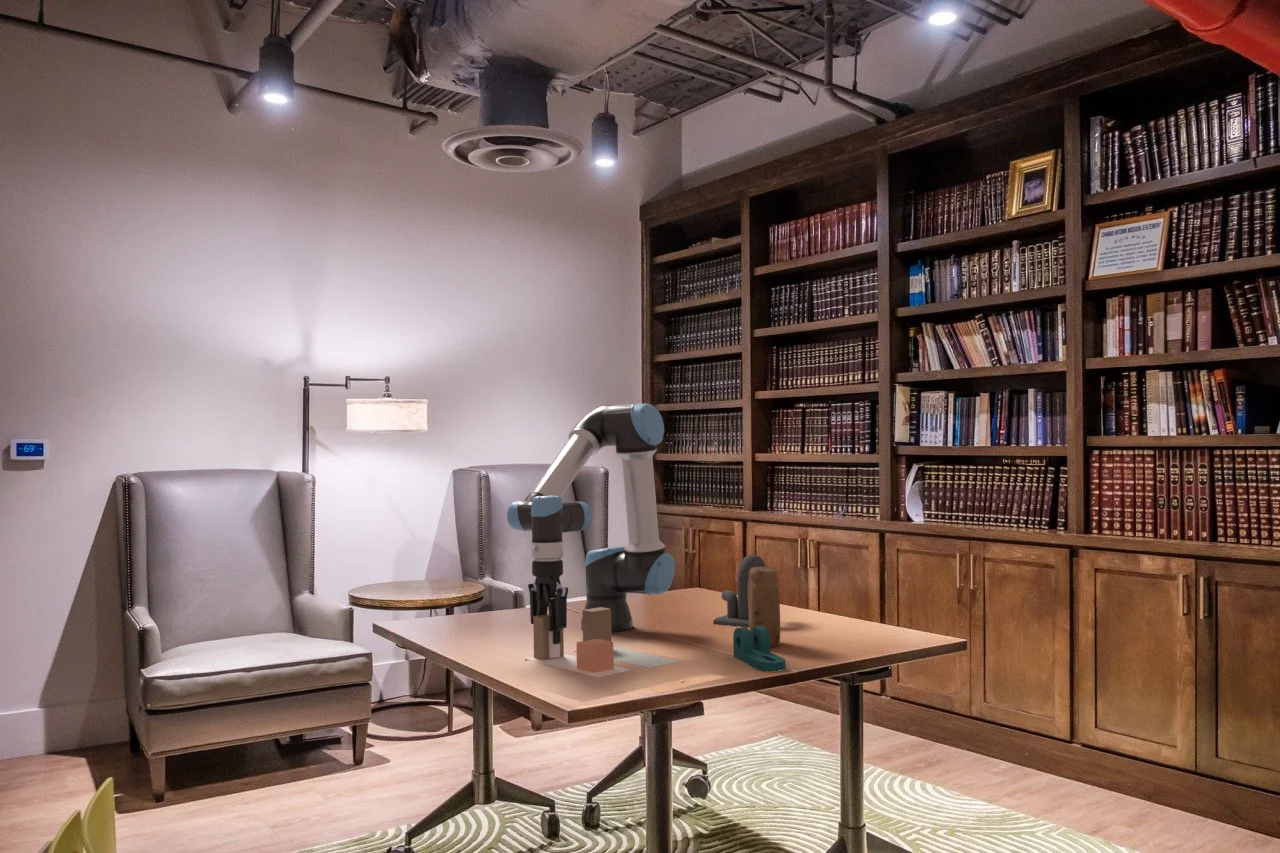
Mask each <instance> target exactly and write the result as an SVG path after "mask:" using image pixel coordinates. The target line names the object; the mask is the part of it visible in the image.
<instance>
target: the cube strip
mask: <svg viewBox="0 0 1280 853" xmlns="http://www.w3.org/2000/svg"><path fill="white" fill-rule="evenodd" d="M532 625H533V656H531V657H525V658H524V662H527V661H533V662H536V663H541V664H543V665H548V666H551V667H556V668H560V669H564V670H568V671H572V672H575V673H579V674H583V675H587V676H591V677H594V678H601V677H606V676H610V675H615V674H620V673H624V672H628V671H632V669H630V668H626V667H622V666H618V665H614V669H609V670H604V671H599V672H594V673H592V672H588V671H584V670H580V669H577V655H571V654H567V653H565V652H564V650H565V646H564V644H565V643H564V642H565V641H564V628H563V629H561V632H560V633H561V637H560V638H561V642H560V657H557V658H549V629H551V625H550V617H549V613H547V614H545V615H538V616H533V624H532Z"/></svg>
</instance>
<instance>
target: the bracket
mask: <svg viewBox="0 0 1280 853" xmlns="http://www.w3.org/2000/svg"><path fill="white" fill-rule="evenodd" d="M732 642H733V643H732V644H733V647H732V648H733V658H734V659H737V660H738V661H740V662H742V663H744V664H746V665H748V666H750V667H752V668H754V669H755V668H756V669H755V670H757V671H760V672H766V671H778V670H783V669H785V668H786V667H787V665H786V658H784V657H782V656H781V655H778V654H776V653H773V652H771V647H770V638H769V633H768V631H767V629H766V627H764V626H756V627H753V628H752V629H751V632H750V628H747V627H736V628H735V629H734V632H733V641H732ZM786 669H787V668H786ZM786 669H785V670H786ZM783 671H784V670H783ZM778 672H779V671H778Z"/></svg>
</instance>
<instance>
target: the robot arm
mask: <svg viewBox="0 0 1280 853" xmlns="http://www.w3.org/2000/svg"><path fill="white" fill-rule="evenodd" d="M663 420H664V419H663V417H662V414H661V413H660V411H659V410H658V409H657V408H656V406H655V405H653V404H649V403H638V402H637V403H636V402H635V403H626V404H625V403H623V404H606V405H602V406H598V407H597V408H594V409H593V410H592V411H590V412H588V413H587V414H586V415H585V416H584V417H582V419H580V420H579V421H578V422H577V423H576V424H575V426H574V427H573V428H572V429H571V431H570V432H569V433H568V437H567V438H568V440H567V441H566V443H565V444H564V446H563V447H562V449H561V450H560V452H559V453H558V454H557V456H556V457H555V458H554V460H553V461H552V462H551V464H549V466H548V467H547V469H546V471H545V472H544V473H543V474H542V476H541V477H540V478H539V480H538V481H537V482H536V483H535V485H534V487H533V488H532V489H531V491H530V492H529V493H528V495H527V496H526V497H525V499H524V500H518V501H513V502H512V503H511V504H510V505H509V506H508V508H507V511H506V512H507V513H506V519H507V523H508V525H509V526H510V527H511V528H512V529H514V530H517V531H523V532H527V531H529V532H530V531H531V543H532V544H531V557H532V559H533V560H532V561H531V573H532V576H533V577H535V579H534V580H535V581H534V582H533V583H528V585H527V589H528V592H529V608H530V609H529V612H530V613H529V614H530V623H531V625H533V616H538V615H545V614H549V617H550V625H551V629H549V658H557V657H560V642H561V638H560V637H561V633H560V632H561V629H563V630H564V629H566V628H567V626H568V625H567V622H568V621H567V618H568V617H567V613H568V612H567V610H568V609H567V606H568V605H567V604H568V601H567V600H568V599H567V598H568V593H569V588H568V587H564V586H562V583H561V580H560V577H561V576H562V575H563V574H564V561H563V560H562V558H563V557H564V546H563V544H564V542H563V541H564V540H563V533H572V532H578V533H579V532H580V531H584V530H586V529H589V527H590V525H591V524H592V522H593V511H592V508H591V507H590V505H589V504H587V503H586V502H584V501H579V500H576V501H575V500H574V501H563V498H562V497H563V495H565V493H566V492H567V490H568V489H569V487H570V486H571V485H572V483H573V481H574V480H575V479H576V477H577V476H578V475H579V473H580V472H581V470H582V469H583V467H584V466H585V464H586V463H587V462H588V460H589V459H590V457H592V456H595V455H596V454H598V453H599V451H600V450H601V449H602V448H605V447H608V446H610V447H611V446H614V447H615V452H616V454H617V456H619V458H621V461H622V462H621V463H622V471H623V472H622V474H623V475H622V476H623V483H624V484H623V486H624V497H625V499H624V500H625V510H626V523H627V536H628V543H627V544H626V545H625V546H623V545H621V546H613V547H605V548H604V547H603V548H599V549H598V548H597V549H592V550H589V551H588V552H587V554H586V555H585V556H586V557H585V565H584V566H585V583H586V584H585V586H586V588H585V591H586V592H585V593H586V597H585V598H586V602H585V606H584V609H583V610H586V609H592V608H599V607H603V608H609V609H611V633H613V632H619V631H620V632H621V631H627V630H630V629H632V628H633V627H634V626H633V625H634V619H633V616H632V614H631V610H630V607H629V604H628V600H627V594H628V593H629V594H639V595H641V594H642V595H648V596H651V595H662V594H664V593H666V592H667V591H668V589H670V587H671V585H672V583H673V580H674V578H675V577H674V576H675V572H676V565H675V559H674V557H673V556H672V554H670V553H667V552H666V545H665V544H664V543H663V542H662V541H661V540H660V535H659V534H660V533H659V522H658V511H657V509H658V508H657V498H656V496H657V495H656V484H655V473H654V472H655V470H654V460H653V457H654V454H655V453H656V452H657V451H658V445H659V444H660V443H662V441H663V439H664V434H665V426H664V421H663ZM580 628H581V630H583V616H582V617H581V619H580Z"/></svg>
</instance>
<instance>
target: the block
mask: <svg viewBox="0 0 1280 853" xmlns="http://www.w3.org/2000/svg"><path fill="white" fill-rule="evenodd" d="M778 573H779V572H778V570H777V569H776V568H775V567H773V566H766V567H753V568H751V569H750V571H749V577H748V614H749V628H748V629H749V630H750V632H751V629H752V628H753V627H756V626H764V627H766V629H767V631H768V633H769V638H770V648H773V647H775V646H779V645H780V643H781V606H780V605H781V604H780V602H781V601H780V600H781V599H780V588H779V586H780V585H779V574H778Z"/></svg>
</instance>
